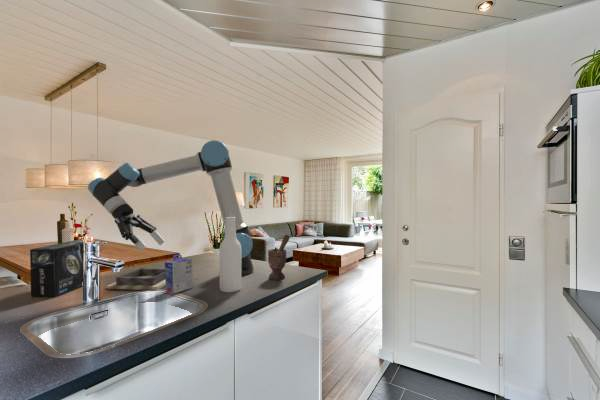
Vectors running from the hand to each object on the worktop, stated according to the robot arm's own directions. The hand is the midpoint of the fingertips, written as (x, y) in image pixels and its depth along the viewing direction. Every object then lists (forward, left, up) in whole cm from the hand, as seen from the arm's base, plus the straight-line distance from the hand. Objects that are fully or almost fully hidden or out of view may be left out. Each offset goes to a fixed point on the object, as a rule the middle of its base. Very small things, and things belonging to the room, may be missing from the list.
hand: (153, 245), depth 122 cm
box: (+37, +2, -18) cm, 41 cm away
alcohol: (-32, -2, -18) cm, 37 cm away
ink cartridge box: (-11, 0, -18) cm, 21 cm away
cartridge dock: (+9, -9, -18) cm, 22 cm away
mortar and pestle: (-49, -22, -18) cm, 57 cm away
